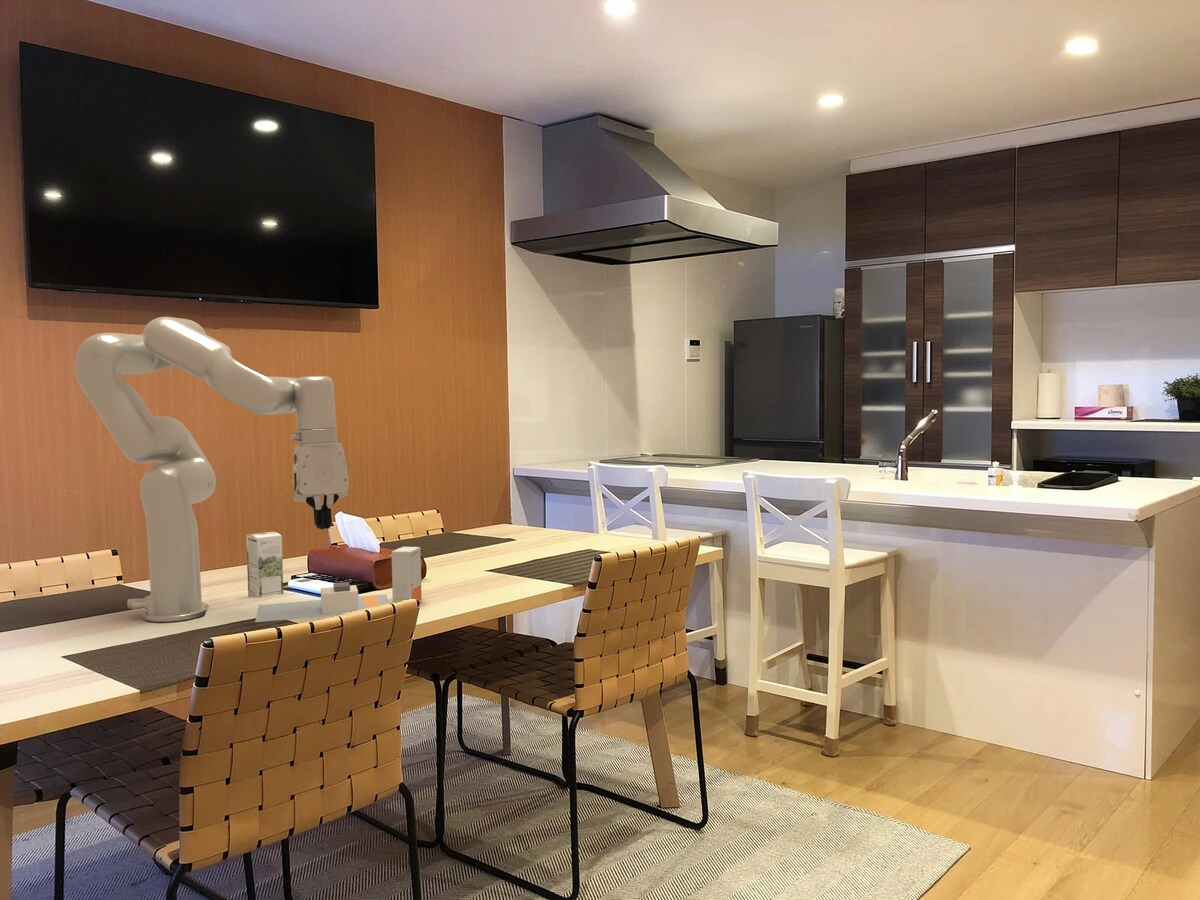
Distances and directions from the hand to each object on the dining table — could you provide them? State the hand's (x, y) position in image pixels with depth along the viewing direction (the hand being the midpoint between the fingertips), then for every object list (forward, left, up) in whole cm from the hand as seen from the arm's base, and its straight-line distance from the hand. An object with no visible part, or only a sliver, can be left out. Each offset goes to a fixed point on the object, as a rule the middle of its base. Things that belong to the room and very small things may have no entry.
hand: (323, 528), depth 187 cm
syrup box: (-12, +21, -18) cm, 31 cm away
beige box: (+3, 0, -17) cm, 17 cm away
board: (0, +2, -18) cm, 18 cm away
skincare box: (+17, +3, -18) cm, 25 cm away
